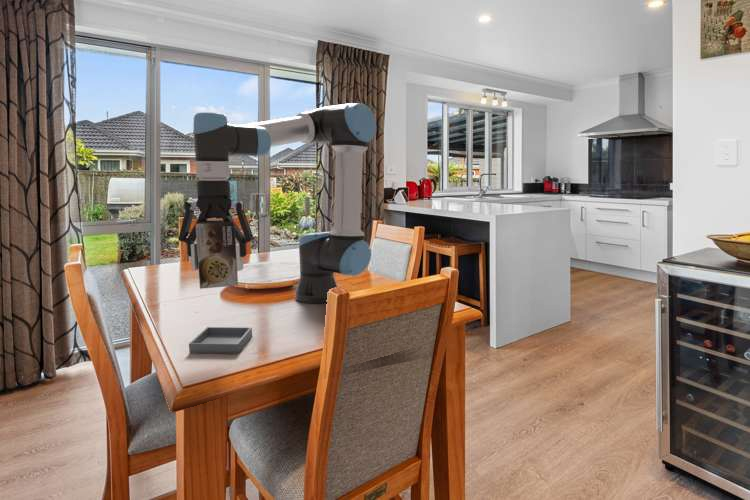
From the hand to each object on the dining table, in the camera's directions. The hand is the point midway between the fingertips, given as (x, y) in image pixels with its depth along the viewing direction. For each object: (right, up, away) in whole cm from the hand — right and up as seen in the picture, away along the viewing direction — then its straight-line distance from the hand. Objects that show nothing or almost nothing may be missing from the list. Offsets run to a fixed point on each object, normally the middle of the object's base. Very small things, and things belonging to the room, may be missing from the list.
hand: (218, 269), depth 114 cm
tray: (0, -19, +3) cm, 20 cm away
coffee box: (0, -4, +1) cm, 4 cm away
